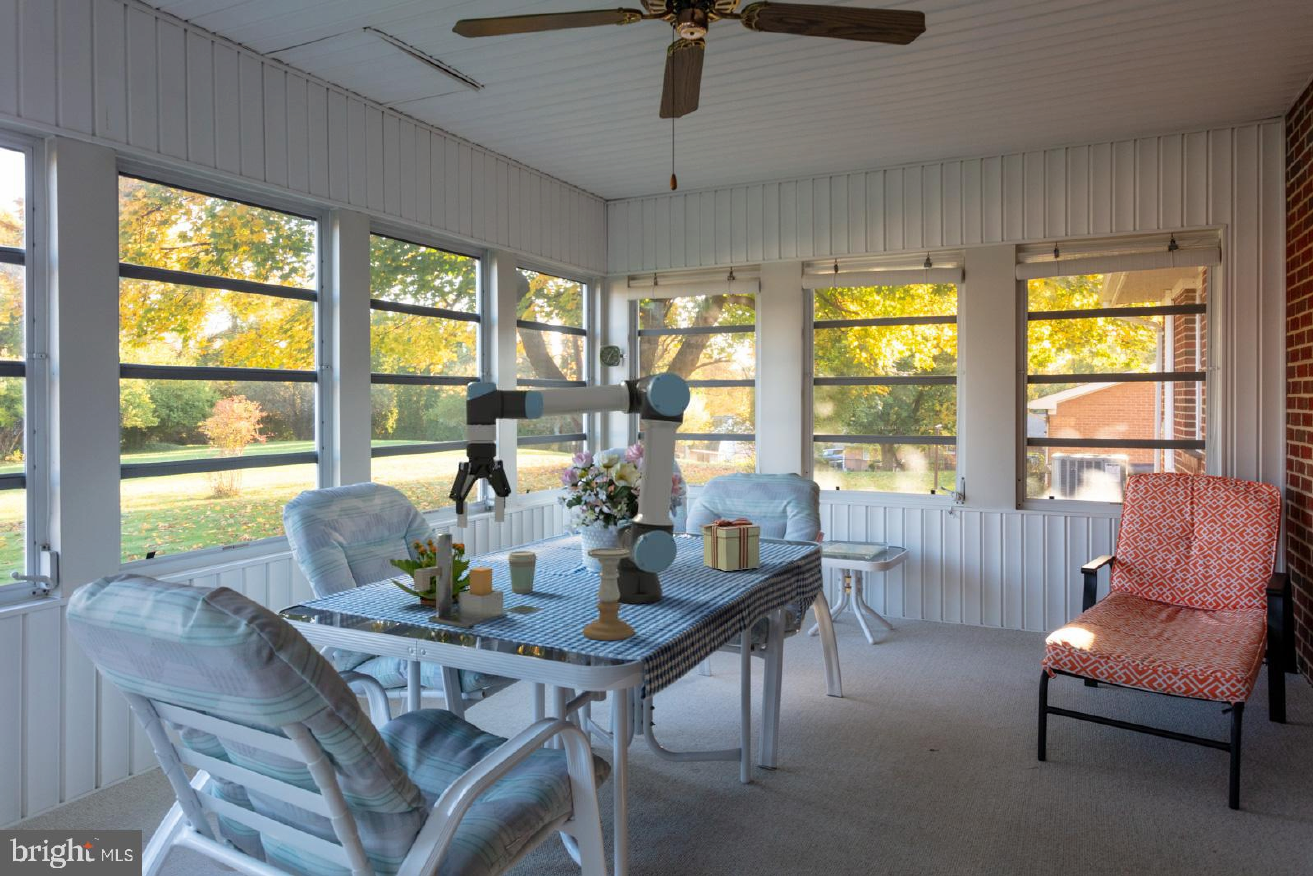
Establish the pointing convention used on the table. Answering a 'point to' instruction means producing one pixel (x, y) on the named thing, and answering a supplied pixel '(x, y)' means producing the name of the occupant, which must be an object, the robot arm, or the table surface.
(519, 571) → the coffee cup
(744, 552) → the gift box
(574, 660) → the table surface
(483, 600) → the grey post stand
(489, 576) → the tan rectangular bar
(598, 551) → the candle holder
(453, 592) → the potted flower
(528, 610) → the plate
